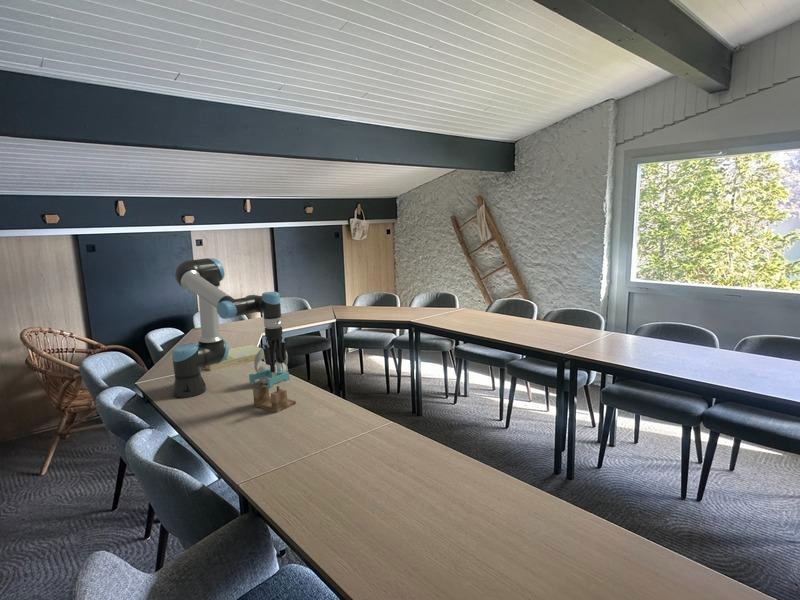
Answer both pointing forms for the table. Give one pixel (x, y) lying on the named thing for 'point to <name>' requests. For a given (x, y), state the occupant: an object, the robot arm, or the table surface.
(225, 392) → the table surface
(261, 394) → the stand
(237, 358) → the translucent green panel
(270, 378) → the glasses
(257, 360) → the headphones
